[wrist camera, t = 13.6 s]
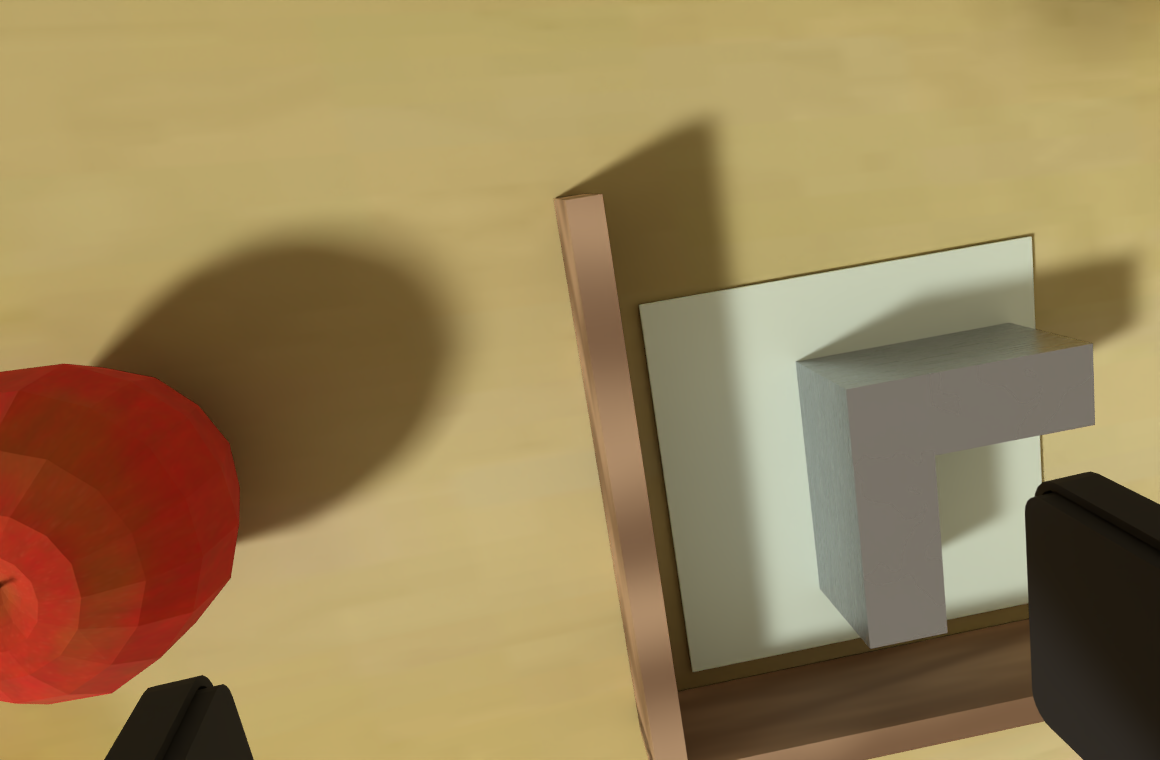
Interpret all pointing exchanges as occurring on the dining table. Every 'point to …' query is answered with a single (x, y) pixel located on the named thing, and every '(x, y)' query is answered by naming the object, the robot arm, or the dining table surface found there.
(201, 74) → the dining table surface
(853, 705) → the wooden corner frame
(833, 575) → the bracket
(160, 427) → the apple
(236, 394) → the dining table surface
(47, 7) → the dining table surface
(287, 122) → the dining table surface
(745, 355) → the mat
